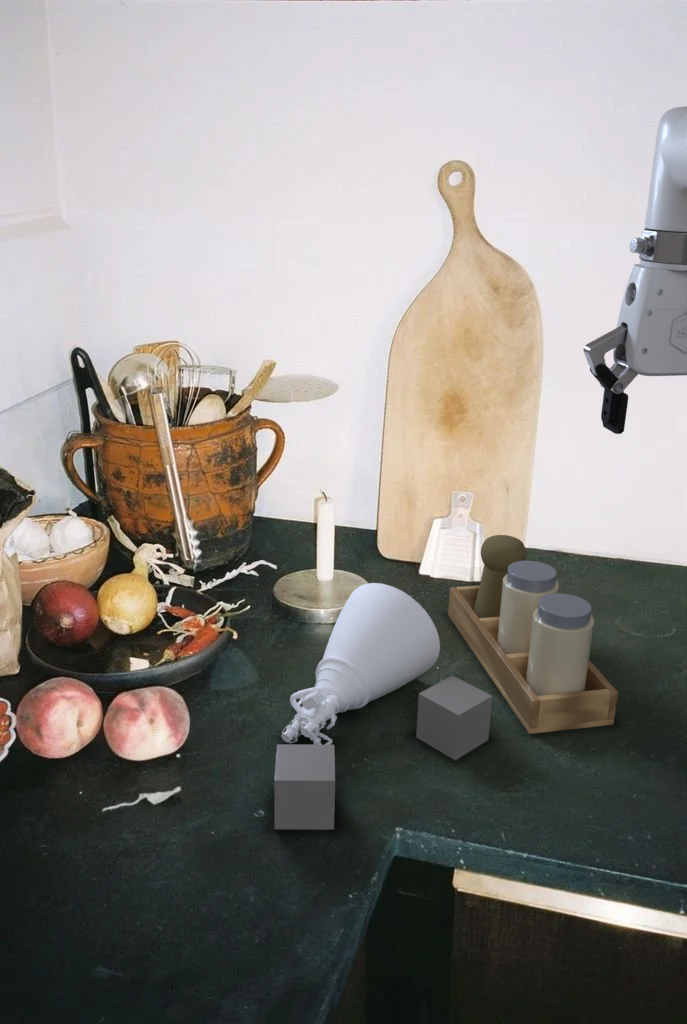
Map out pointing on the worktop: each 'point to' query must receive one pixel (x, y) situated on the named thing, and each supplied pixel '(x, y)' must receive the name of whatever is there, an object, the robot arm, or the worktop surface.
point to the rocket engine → (366, 657)
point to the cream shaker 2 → (560, 645)
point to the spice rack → (512, 670)
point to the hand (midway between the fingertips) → (657, 428)
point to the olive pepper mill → (496, 572)
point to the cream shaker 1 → (522, 602)
